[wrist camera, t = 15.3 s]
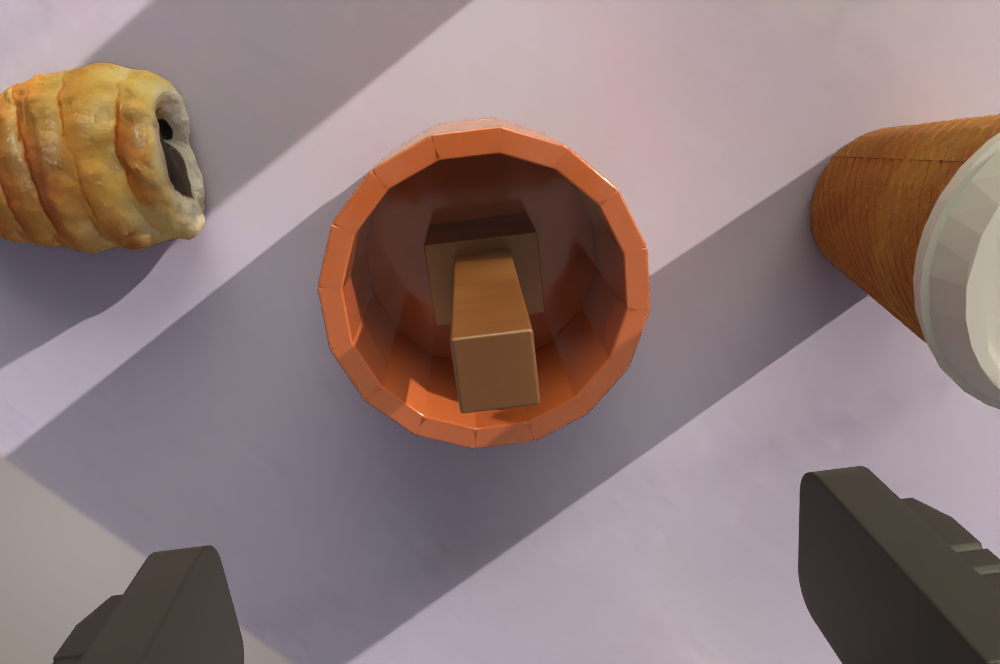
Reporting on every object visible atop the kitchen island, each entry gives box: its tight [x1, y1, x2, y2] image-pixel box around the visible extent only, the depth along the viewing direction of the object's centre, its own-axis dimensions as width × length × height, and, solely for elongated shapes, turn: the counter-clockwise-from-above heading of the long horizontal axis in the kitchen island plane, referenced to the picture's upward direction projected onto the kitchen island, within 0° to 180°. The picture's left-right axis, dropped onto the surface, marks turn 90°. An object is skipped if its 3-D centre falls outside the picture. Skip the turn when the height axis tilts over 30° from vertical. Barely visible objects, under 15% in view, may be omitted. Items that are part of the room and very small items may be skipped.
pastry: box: [0, 62, 205, 254], centre depth 27 cm, size 9×7×4 cm
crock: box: [318, 118, 650, 448], centre depth 28 cm, size 11×11×7 cm
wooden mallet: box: [424, 213, 545, 413], centre depth 24 cm, size 4×3×13 cm
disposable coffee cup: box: [811, 114, 1000, 409], centre depth 26 cm, size 10×10×12 cm
